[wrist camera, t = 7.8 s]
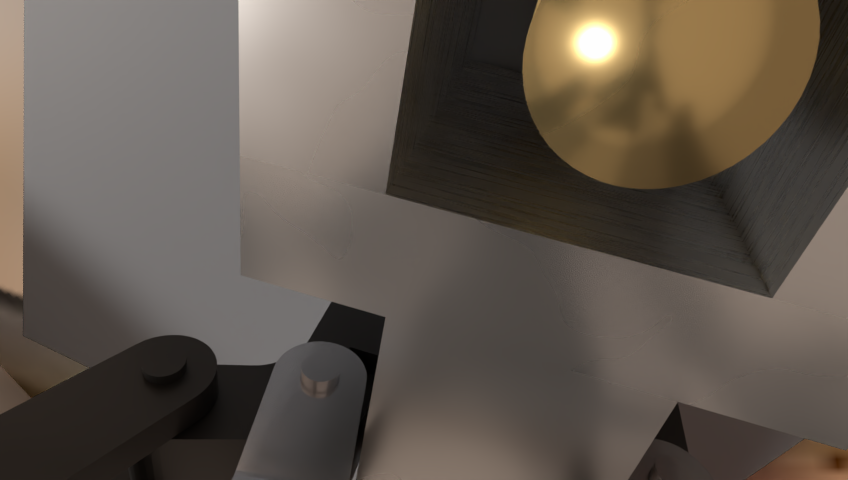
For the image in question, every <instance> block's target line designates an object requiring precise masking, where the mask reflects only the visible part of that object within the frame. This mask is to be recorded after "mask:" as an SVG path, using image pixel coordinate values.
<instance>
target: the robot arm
mask: <svg viewBox="0 0 848 480" xmlns="http://www.w3.org/2000/svg"><path fill="white" fill-rule="evenodd" d="M385 318H386V317H383V316H380V315H376V314H373V313H370V312H366V311H363V310H359V309H356V308H352V307H349V306H345V305H342V304H338V303H335V302H331V303H330V305H329V307H328V308H327V310H326V312H325V313H324V315H323V317H322V318H321V320H320V322H319V324H318V325H317V327H316V329H315V330H314V332H313V334H312V335H311V337H310V339H309V340H308V342H307V343H304V344H300V345H297V346H295V347H293V348H291V349H290V350H288V351H286V352H285V353H284V354H283V355H282V356H281V357H280V358H279V359H278V361H277V362H275V363H272V364H266V365H218V364H217V359H216V356H215V354H214V352H213V351H212V349H211V348H210V347H209V346H208V345H207V344H205V343H204V342H202V341H200V340H198V339H196V338H192V337H189V336H183V335H164V336H158V337H154V338H150V339H147V340H144V341H142V342H140V343H138V344H136V345H134V346H132V347H130V348H128V349H126V350H124V351H122V352H120V353H118V354H116V355H114V356H112V357H110V358H108V359H107V360H105V361H103V362H101V363H99V364H97V365H95V366H93V367H91V368H89V369H87V370H85V371H83V372H81V373H79V374H77V375H76V376H74V377H72V378H70V379H68V380H66V381H64V382H62V383H60V384H58V385H56V386H54V387H52V388H50V389H48V390H46V391H44V392H43V393H41V394H39V395H37V396H35V397H33V398H31V399H29V400H27V401H25V402H23V403H21V404H19V405H17V406H15V407H13V408H12V409H10V410H8V411H6V412H4V413H2V414H0V480H352V479H353V477H354V474H355V472H356V469H357V466H358V464H359V460H360V455H361V449H362V444H363V438H364V433H365V427H366V422H367V416H368V411H369V405H370V400H371V394H372V389H373V383H374V378H375V372H376V367H377V361H378V356H379V350H380V345H381V339H382V334H383V328H384V323H385ZM628 480H714V479H713V477H712V476H711V474H710V473H709V472H708V470H707V469H706V468H705V467H704V466H703V465H702V464H701V463H700V462H699V461H698V460H697V459H696V458H695V457H693V456H692V455H691V454H689V452H688V447H687V443H686V438H685V433H684V429H683V424H682V419H681V415H680V410H679V405H678V402H677V404H676V405H675V407H674V409H673V410H672V412H671V413H670V415H669V416H668V418H667V420H666V421H665V423H664V424H663V426H662V427H661V429H660V430H659V432H658V434H657V435H656V437H655V438H654V440H653V441H652V443H651V445H650V446H649V448H648V449H647V451H646V452H645V454H644V455H643V457H642V459H641V460H640V462H639V463H638V465H637V466H636V468H635V470H634V471H633V473H632V474H631V476H630V477H629V479H628Z"/></svg>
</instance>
